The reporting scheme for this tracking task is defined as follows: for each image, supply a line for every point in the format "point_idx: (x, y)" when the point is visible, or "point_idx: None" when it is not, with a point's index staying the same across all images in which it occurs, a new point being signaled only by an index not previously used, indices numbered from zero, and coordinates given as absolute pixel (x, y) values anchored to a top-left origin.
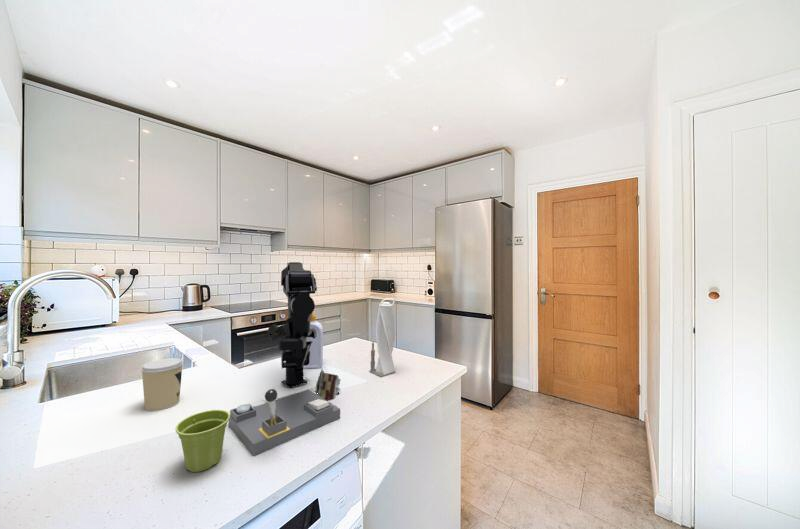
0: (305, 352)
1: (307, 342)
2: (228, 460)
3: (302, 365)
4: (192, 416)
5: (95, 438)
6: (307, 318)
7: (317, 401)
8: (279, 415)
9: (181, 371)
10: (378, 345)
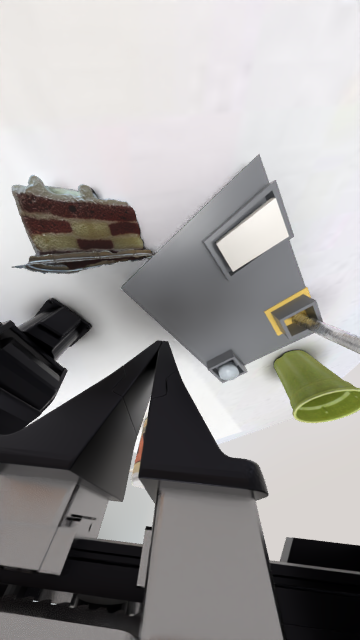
0: (191, 403)
1: (39, 475)
2: (299, 342)
3: (164, 346)
4: (299, 418)
5: (212, 427)
6: None
7: (241, 243)
8: (282, 318)
9: None
10: None
